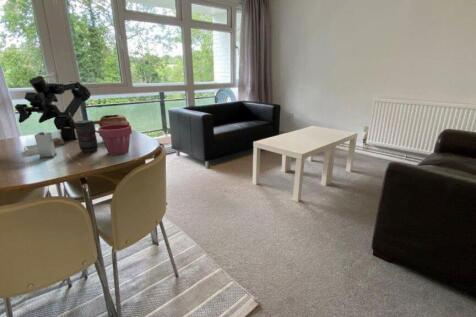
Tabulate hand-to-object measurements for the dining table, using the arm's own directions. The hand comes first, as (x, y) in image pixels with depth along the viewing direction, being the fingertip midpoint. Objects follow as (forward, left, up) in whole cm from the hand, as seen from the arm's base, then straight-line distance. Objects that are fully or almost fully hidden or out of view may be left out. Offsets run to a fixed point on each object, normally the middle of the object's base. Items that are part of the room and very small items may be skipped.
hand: (29, 122), depth 122 cm
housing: (-3, +11, -15) cm, 19 cm away
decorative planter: (-35, 0, -15) cm, 38 cm away
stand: (0, -2, -15) cm, 15 cm away
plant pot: (-29, +26, -15) cm, 42 cm away
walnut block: (-9, -8, -15) cm, 20 cm away
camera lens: (-19, +15, -15) cm, 29 cm away
